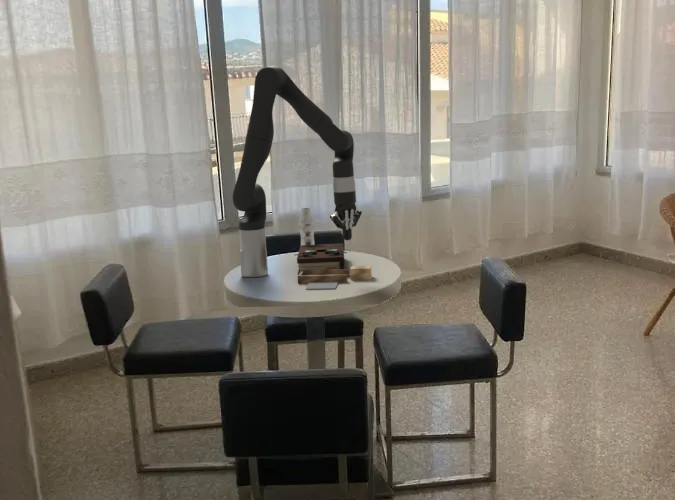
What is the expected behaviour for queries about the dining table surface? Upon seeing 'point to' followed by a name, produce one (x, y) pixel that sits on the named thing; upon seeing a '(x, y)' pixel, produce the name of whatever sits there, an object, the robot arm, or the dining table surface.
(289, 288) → the dining table surface
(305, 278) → the shelf bay
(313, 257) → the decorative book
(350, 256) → the dining table surface
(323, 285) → the rubber pad
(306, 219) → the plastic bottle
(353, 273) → the block
